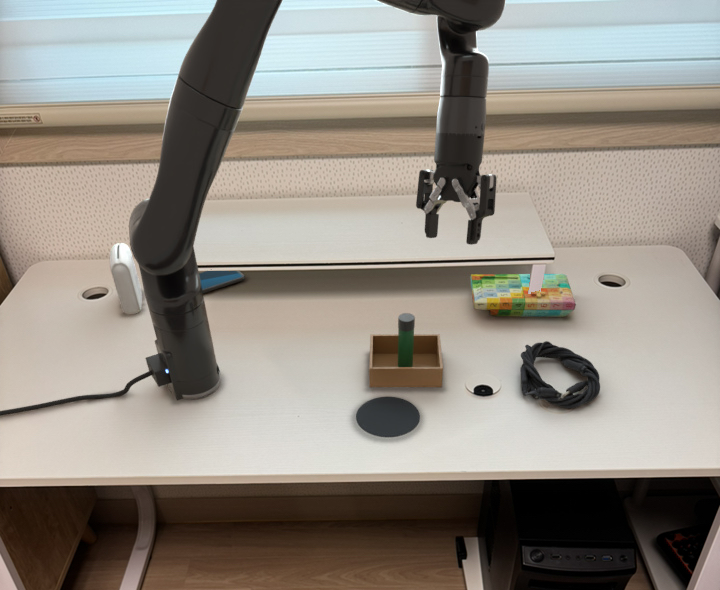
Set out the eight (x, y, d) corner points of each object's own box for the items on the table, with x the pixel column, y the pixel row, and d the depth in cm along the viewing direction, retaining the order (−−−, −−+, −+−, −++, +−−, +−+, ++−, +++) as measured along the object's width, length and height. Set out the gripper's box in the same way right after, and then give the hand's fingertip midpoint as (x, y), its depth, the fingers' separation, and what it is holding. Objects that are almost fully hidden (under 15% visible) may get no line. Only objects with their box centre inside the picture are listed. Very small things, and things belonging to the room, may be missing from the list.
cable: (518, 350, 133) (521, 331, 130) (593, 356, 131) (598, 336, 128) (518, 405, 121) (521, 385, 118) (600, 412, 119) (606, 392, 116)
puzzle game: (576, 299, 137) (475, 299, 138) (572, 320, 140) (472, 319, 141) (567, 270, 145) (471, 270, 146) (562, 291, 148) (469, 290, 149)
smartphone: (170, 285, 153) (169, 282, 153) (231, 266, 159) (231, 262, 159) (183, 300, 149) (182, 296, 148) (246, 279, 155) (246, 276, 154)
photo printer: (123, 292, 152) (107, 238, 143) (143, 289, 153) (128, 236, 144) (122, 316, 145) (105, 261, 136) (143, 313, 146) (128, 258, 137)
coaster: (377, 447, 114) (377, 445, 114) (344, 411, 121) (344, 409, 120) (432, 425, 118) (432, 422, 117) (397, 391, 125) (397, 389, 124)
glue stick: (402, 375, 127) (404, 323, 120) (394, 367, 129) (395, 315, 121) (415, 370, 128) (418, 318, 121) (407, 362, 130) (408, 311, 122)
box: (369, 389, 125) (369, 368, 122) (370, 354, 133) (370, 334, 130) (441, 389, 125) (443, 368, 122) (438, 354, 133) (439, 334, 130)
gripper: (409, 129, 109) (404, 237, 116) (483, 131, 100) (472, 248, 108) (440, 130, 114) (432, 234, 121) (512, 132, 105) (500, 244, 112)
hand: (451, 240), depth 114 cm, fingers open, 8 cm apart
